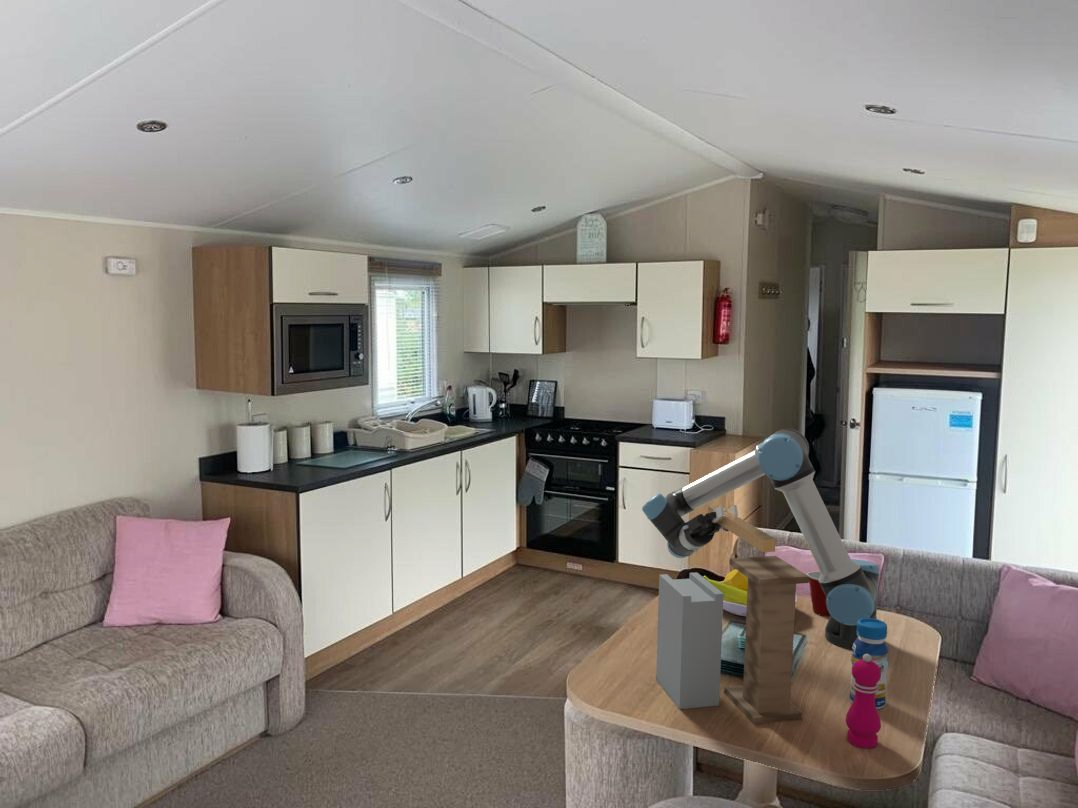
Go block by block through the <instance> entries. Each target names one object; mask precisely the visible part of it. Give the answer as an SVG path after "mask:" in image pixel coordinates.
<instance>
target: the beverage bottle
mask: <svg viewBox="0 0 1078 808" xmlns="http://www.w3.org/2000/svg"><path fill="white" fill-rule="evenodd" d="M857 635H858V636H859V637H858V638H857V639H856V640H855V642H854V644H853V646H852V649H851V650H852V652H853V653H852V654H851V656H850V662H851V667H852V666H853V664H854V663H855V662H856V661H858V660H862V659H863V655H864V654H869V655H870V656H871V658H872V659H871V661H873V662H875V663H876V664H877V665H878V666H879V668H880V670H881V678H880V680H879V681H878V682H877V684H878V687H877V689H878V691H877V692H875V706H876V709H877V710H879V709H883V708H884V707H885V706H886V705H887V704H886V703H887V698H886V694H887V693H886V692H887V681H888V679H887V678H888V668H889V665H890V661H889V659H888V657H889V655H890V650H889V646H888V645H887V643H886V641H885V640H886V639H887V637H888V636H887V635H888V625H887V623H886V622H885V621H883V620H880V619H878V618H877V619H872V618H862V619H859V620H858V622H857ZM850 671H851V673H850V675H851V676H850V690H849V702H851V704H852V703H853V701H854V698H855V689H854V687H853V685H854V683H853V681H854V680H855V679H854V677H853V676H852V670H850Z"/></svg>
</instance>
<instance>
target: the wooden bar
mask: <svg viewBox="0 0 1078 808" xmlns="http://www.w3.org/2000/svg"><path fill="white" fill-rule="evenodd" d="M719 506H720V505H708V508H707V513H711V512H712V511H714V510H715V509H716V508H718V507H719ZM723 509H724V515H725V516H724V517H722V518H721V519H719V520H718V521H717V522H716V523H718V524H719V525H721V526H722V527H724V528H725V529H727V530H729V531H728V532H731V533H732V534H734V535H735V536H736V537H738V538H739V539H742V540H743V541H745V542H746V543H748V544H749V545H751V546H752V547H754V548H756V549H757V550H759V552H762V553H772V552H773V553H775V552H776V539H777V538H775V537H773V536H771V535H770V534H768V533H766V532H765V531H763V530H761V529H760V528H757V527H756V526H754V525H753V524H751V523H749V522H748V521H746V520H744V519H742V518H740V517H739V516H735V515H734V514H732V513H730V512H728V511H727V510H728V509H726V508H723Z"/></svg>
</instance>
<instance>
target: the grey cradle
mask: <svg viewBox="0 0 1078 808" xmlns="http://www.w3.org/2000/svg"><path fill="white" fill-rule="evenodd" d="M658 575H659V578H658V606H657V607H658V608H657V610H658V611H657V612H658V613H657V636H656V637H657V643H656V669H655V670H656V672H655V681H657V683H658V684H659V685H660V687H661V688H662V689H663V690H664V692H665V693H666V694H667V695H668V697H669V698H670V699H671V701H672V702H673V703H674V705H675V706H676V707H677V708H678V710H684V709H685V710H686V709H687V710H688V709H697V708H707V707H716V706H718V707H719V706H720V696H721V695H720V692H721V691H720V688H721V667H722V665H721V664H722V645H723V644H722V643H723V642H722V639H723V638H722V637H723V617H724V616H723V615H724V609H723V593H722V592H721V591H719V590H718V589H717V588H716V587H714V586H713V585H712V584H711V583H710V582H708V581H707V580H706V579H705V578H703V576H702V575H701V574H700V573H698V572H697V571H696V572H689V576H688V577H689V578H681V579H679V578H678V579H677V578H675V579H673V578H672V577H671V576H670V575H668V574H667V573H665V574H663V573H662V574H658Z"/></svg>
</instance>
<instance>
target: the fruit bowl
mask: <svg viewBox="0 0 1078 808" xmlns="http://www.w3.org/2000/svg"><path fill="white" fill-rule="evenodd" d="M702 577H703V578H705V579H706V580H707V581H708V582H710V583H711V584H712V585H713V586H714V587H716V588H717V589H718V590H719V591H721V592H722V593H723V611H727V612H728V613H731V614H732V615H737V616H742V617H746V611H747V588H748V577H746V576H745V575H744V574H742V573H741V572H739V571H738V570H737V569H735V568H733V569H732V570H731V571H730V572H728V573H727V574H726V576H725V577H724V580H722V581H717V580H713V579H710V578H709V577H707V576H706V575H703V576H702ZM795 604H797V596H796V599H795Z"/></svg>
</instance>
